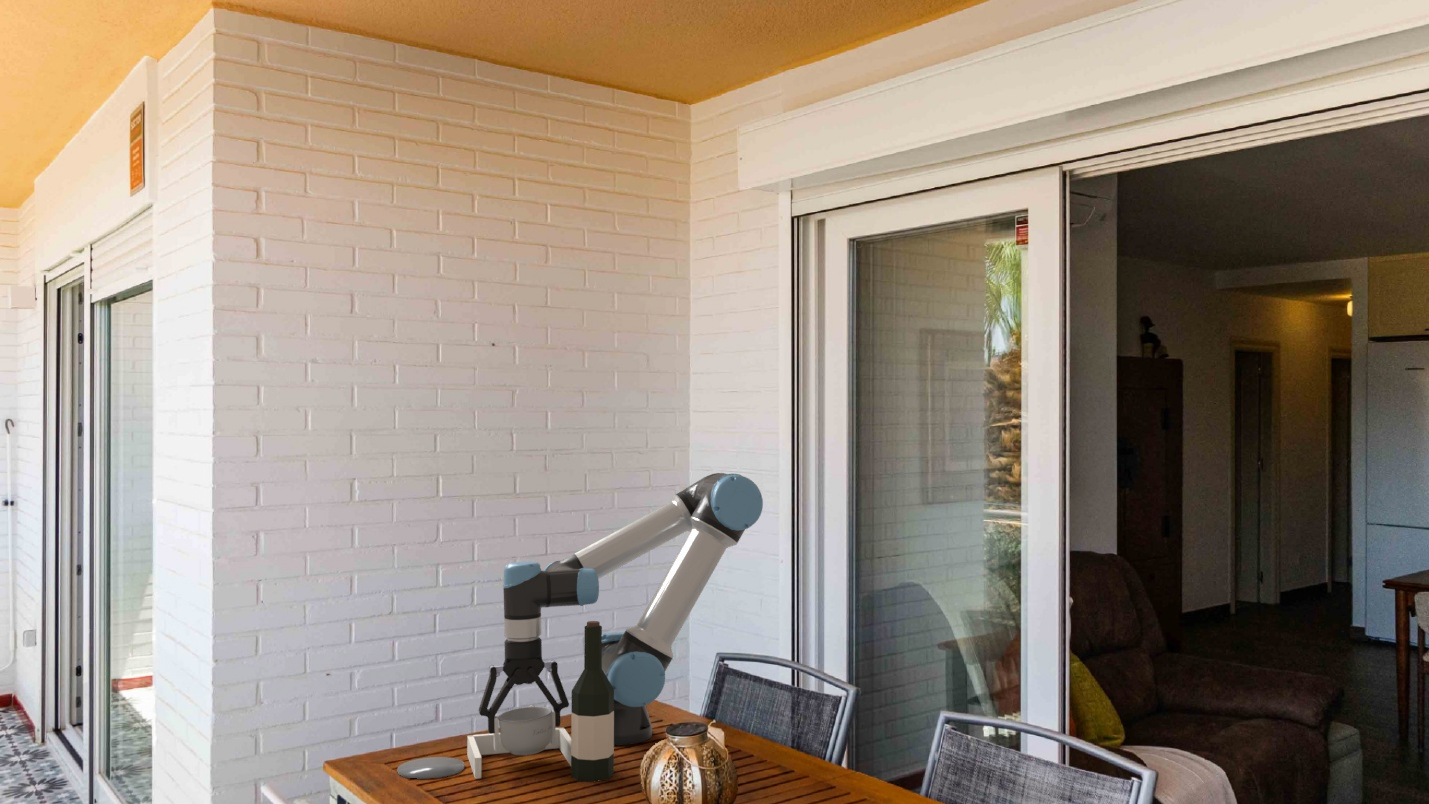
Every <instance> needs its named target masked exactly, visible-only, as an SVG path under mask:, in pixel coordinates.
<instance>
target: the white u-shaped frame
mask: <svg viewBox="0 0 1429 804" xmlns="http://www.w3.org/2000/svg"><path fill="white" fill-rule="evenodd" d="M555 732H556V744H554V745H552V744H551V742H550V743H549V744H548V745H547V746H546V747H545V749H544V750H552V749H553V750H554V749H555V750H556V749H559V750H560V751H561V753H562V755H563V756H564V758H565V760H566V761H567V763H568V765H569V766H570V767H571V735H570V734H569V732H568V731H567V730H566V729H565V727H555ZM466 739H467V741H466V742H467V743H466V744H467V745H466V749H467V750H466V753H467V759H468V762H469V764H470V767H471V772H472V774H473V777H474V779H475V780H476V779H477V780H478V779H482V756H487V755H488V756H489V755H498V754H508V753H509V754H512V753H511V752H510V751H508V750H506V749H505V748H504V747H503V745H502V742H501V736H500V732H499V751H495V749H494V733H492V734H490V733H481V734H467V737H466ZM544 750H543V751H544Z"/></svg>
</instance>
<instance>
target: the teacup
mask: <svg viewBox="0 0 1429 804" xmlns="http://www.w3.org/2000/svg"><path fill="white" fill-rule="evenodd" d="M551 714H552V708H550V707H546V706H537V705H534V704H532V705H531V704H530V705H528V706H526V707H525V706H523V707H517V708H512V709H510V710H506V711H503V712H502V713H500V714H499V715H497V716H498V720H499V733H500V736H501V742H502V745H503V747H504V748H505V749H506V750H508V751H510V752H511V753H510V754H512V755H513V756H530V755H535V754H538V753H540V752H543V751H544V749H545V747H546V746H547V745H548V744H549V743H550V741H551V739H552V715H551ZM545 750H546V749H545Z"/></svg>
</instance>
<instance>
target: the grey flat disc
mask: <svg viewBox="0 0 1429 804" xmlns="http://www.w3.org/2000/svg"><path fill="white" fill-rule="evenodd" d="M464 769H465V762H464V761H463V760H461V759H458V758H454V757H447V756H429V757H428V756H427V757H421V758H415V759H411V760H409V761H406V762H403V763H401V764H400V765H398V767H397V770H396V771H397V772H398V773H397V775H399V776H400V775H401V776H400V777H402V776H403V777H402V778H405V779H410V778H417V779H416V780H429V779H428V778H437V779H442V777H443V778H447V776H448V777H451V776H454V775H457V774H459V773H461V772H462V771H463V770H464Z"/></svg>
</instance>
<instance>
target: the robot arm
mask: <svg viewBox="0 0 1429 804" xmlns="http://www.w3.org/2000/svg"><path fill="white" fill-rule="evenodd" d="M763 505H764V500H763V497H762V492H761V490H760V488H759V486H758V485H757V484H756V483H755V482H754V481H753V480H751V479H750V478H748V477H746V476H744V475H741V474H740V473H739V474H738V473H724V472H716V473H711V474H709V475H706V476H704V477H703V478H701V479H699V480H698V481H695V483H693V484H691V485H689V486H688V487H686V488H684V489H682V490H681V491H680V492H677V493H675V494H674V495H673V496H672V499H671V501H670V502H668V503H666V504H665V505H663V506H661V507H659V508H656V509H655V510H653V511H651V512H650V513H648V514H646V515H644V516H641V517H640V518H638V519H636V520H635V521H632V522H630V523H629V524H627V525H625V526H623V527H621V528H620V529H618V530H616V531H614V532H612V533H611V534H608V535H606V536H605V537H603V538H601V539H599V540H597V541H595V542H594V543H592V544H589V545H588V546H586V547H584V548H582V549H580V550H579V551H577V552H575V553H574V554H571V555H570V556H567V557H565V558H564V559H562V560H555V561H552V562H551V563H550V562H549V564H548V565H546V567H545V568H544V569H543V570H542V569H541V564H540V563H539V562H538V561H514V562H510V563H507V564H506V565H505V567H504V569H503V585H502V588H503V619H504V621H503V623H504V624H503V625H504V626H503V627H504V628H503V629H504V637H505V638H506V639H505V640H504V643H503V644H504V662H503V664H502V665H494V664H491V665H489V667H488V673H489V674H488V675H489V676H488V680H487V683H486V685H485V689H484V692H483V695H482V698H481V702H480V705H479V708H478V713H479V715H480V716H481V717H487V731H488V732H489V733H488V734H492V733H494V749H495V751H499V733H500V726H499V719H498V716H499V715H498V714H497V713H498V711H499V710H500V708H501V706H502V705H503V703H504V701H505V699H506V698H507V696H508V694H510V691H511V690H512V689H513V687H514V685H516V686H520V685H524V684H527V685H533V683H534V682H535V684H536V685H537V687H538V688H539V689H540V691H541V693H542V694H543V695H544V697H545V699H547V701H548V702H549V704H550V705H551V707H552V708H551V710H552V714H551V715H552V739H551V741H550V742H551V744H552V745H554V744H556V732H555V728H560V726H561V712H562V710H563V709H565V708H568V707H569V706H570V702H569V699H568V697H567V694H566V692H565V689H564V686H563V683H562V682H561V678H560V676H559V673H558V672H559V671H558V668H559V667H558V662H557V661H556V660H554V659H551V660H550V661H544V660H543V657H542V656H543V655H542V654H543V651H542V650H543V649H542V642H543V641H542V639H541V635H542V608H551V607H553V608H554V607H571V606H574V607H575V606H580V607H583V606H586V605H593V604H596V603H597V602H598V600H599V596H600V581H599V580H600V579H601V578H603V577H604V576H607V575H608V574H611V573H612V572H614V571H616V570H618V569H619V568H622V567H623V566H626V565H627V564H628V563H630V562H633V561H634V560H637V558H640V557H641V556H643V555H646V554H647V553H649V552H650V551H651V552H652V550H654V549H656V548H658V547H660V546H662V545H663V544H665V543H668V542H670V541H671V540H673V539H675V538H677V537H678V536H680V535H682V534H684V533H686V532H689V534H688V536H686V539H685V540H684V542H683V544H682V546H681V548H680V550H679V551H678V553H677V555H676V556H675V558H673V559H674V560H673V561H672V563H671V565H670V566H669V568H668V569H667V572H666V573H665V575H664V577H663V579H662V581H661V582H660V583H659V585H658V588H657V589H656V591H655V593H654V594H653V595H652V598H651V600H650V602H649V603H648V605H647V607H646V608H645V610H644V612H643V613H642V616H641V617H640V619H639V620H638V622H637V624H636V625H635V626H632V627H629V628H626V629H625V631H620V632H618V631H617V632H602V670H603V672H604V673H605V675H606V677H607V678H608V680H609V682H610V683H611V685H612V687H613V688H614V746H626V745H634V744H640V743H643V742H646V741H648V740H650V739H651V738H652V737H653V733H652V732H653V727H652V721H651V719H650V716H649V713H648V709H647V707H646V706H647V705H649V704H651V703H653V702H654V701H655V700H657V698H658V697H659V695H660V694H661V693H662V691H663V689H664V688H665V687H664V686H665V683H666V671H667V669H668V667H670V663H671V661H672V660H673V658H674V654H673V649H672V646H673V645H674V644H673V643H674V642H675V641H676V639H677V638H678V635H679V633H680V631H681V630H682V628H683V626H684V624H685V622H686V621H687V619H688V617H689V616H690V614H691V612H692V610H693V609H694V608H695V607H694V606H695V604H696V603H697V601H698V600H699V598H700V596H701V594H702V592H703V591H704V589H705V587H706V585H708V584H707V583H708V582H709V580H710V578H711V576H712V575H713V573H714V571H715V570H716V568H717V566H718V564H719V562H720V561H721V559H722V557H723V555H724V554H725V552H726V549H728V548H730V547H733V546H737V545H738V543H739V541H740V540H741V538H742V536H743V534H744V533H745V531H746V530H748V529H749V528H751V527H753V525H755V524H756V523H757V521H758V520H759V519H760V517H761V515H762V512H763ZM544 668H545V669H546V671H547V672H548V673H550V676H551V678H552V681H553V684H554V687H555V690H556V692H557V695H558V698H559V700H560V701H558V702H557V700H556V699H555V697H554V696H553V695H552V693H551V692H550V690H549V689H548V688H547V686H546V684H545V683H544V682H543V680H542V678H540V674H541V673H542V672H543V670H544ZM502 672H503V673H504V674H505V675H506V676H507V677H506V679H505V680H504V683H503V685H502V687H501V688H500V691H499V692H498V693H497V695H496V697H495V699H494V700H493V702H492V703H491V705H490V707H489V704H490V702H491V698H492V695H493V691H494V688H495V686H496V682H497V678H498V677H500V676H501V673H502ZM488 707H489V708H488Z"/></svg>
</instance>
